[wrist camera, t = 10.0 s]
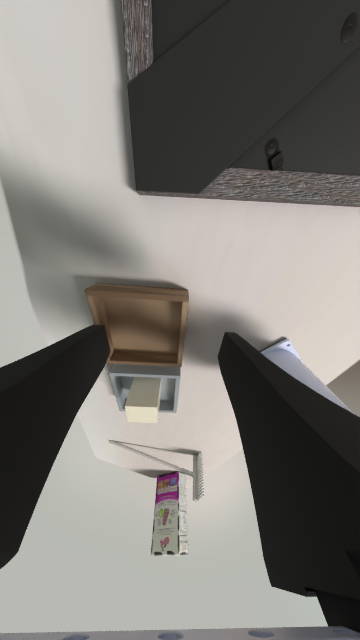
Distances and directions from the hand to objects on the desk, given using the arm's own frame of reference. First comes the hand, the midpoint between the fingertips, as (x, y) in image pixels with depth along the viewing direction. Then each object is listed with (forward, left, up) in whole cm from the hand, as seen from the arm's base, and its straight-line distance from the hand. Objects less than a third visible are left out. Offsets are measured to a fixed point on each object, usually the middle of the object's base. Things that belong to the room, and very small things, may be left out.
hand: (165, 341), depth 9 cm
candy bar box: (-56, +52, -10) cm, 77 cm away
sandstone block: (-10, +15, -9) cm, 20 cm away
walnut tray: (-1, +6, -9) cm, 11 cm away
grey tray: (-10, +15, -9) cm, 20 cm away
